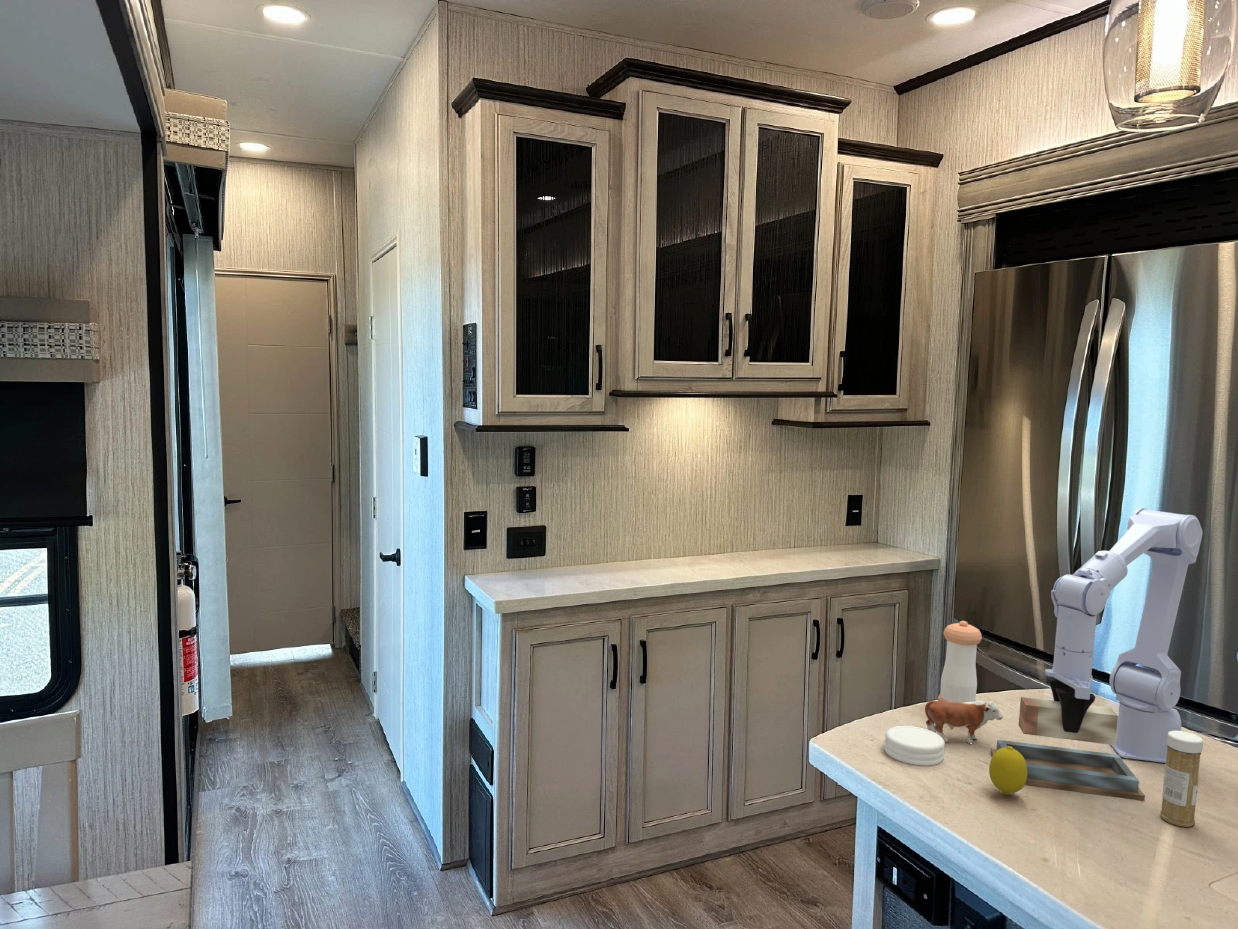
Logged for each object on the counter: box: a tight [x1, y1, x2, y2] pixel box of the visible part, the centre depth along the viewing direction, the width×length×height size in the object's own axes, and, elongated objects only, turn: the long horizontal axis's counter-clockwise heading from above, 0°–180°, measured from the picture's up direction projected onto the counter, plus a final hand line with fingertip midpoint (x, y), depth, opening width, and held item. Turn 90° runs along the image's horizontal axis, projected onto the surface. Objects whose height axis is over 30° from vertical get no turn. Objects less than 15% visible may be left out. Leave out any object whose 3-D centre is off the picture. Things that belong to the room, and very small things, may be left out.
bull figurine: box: [924, 700, 1004, 745], centre depth 160 cm, size 4×13×8 cm, turn 78°
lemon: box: [988, 746, 1027, 796], centre depth 139 cm, size 6×6×8 cm
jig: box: [990, 739, 1146, 802], centre depth 147 cm, size 21×12×3 cm, turn 76°
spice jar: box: [1159, 730, 1204, 827], centre depth 132 cm, size 5×5×13 cm
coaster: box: [884, 725, 946, 767], centre depth 154 cm, size 10×10×4 cm
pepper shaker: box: [937, 620, 983, 703], centre depth 172 cm, size 7×7×19 cm
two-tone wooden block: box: [1018, 696, 1118, 746], centre depth 147 cm, size 14×4×5 cm, turn 76°
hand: (1066, 726), depth 147 cm, fingers closed on two-tone wooden block, 4 cm apart
